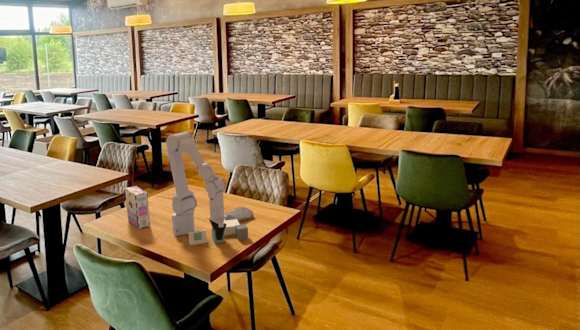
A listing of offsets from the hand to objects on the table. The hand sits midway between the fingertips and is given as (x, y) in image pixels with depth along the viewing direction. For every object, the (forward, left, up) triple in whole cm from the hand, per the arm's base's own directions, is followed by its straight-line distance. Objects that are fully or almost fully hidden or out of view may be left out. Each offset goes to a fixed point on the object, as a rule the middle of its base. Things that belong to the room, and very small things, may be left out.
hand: (218, 237), depth 197 cm
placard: (-9, +1, -1) cm, 9 cm away
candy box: (-30, +32, -2) cm, 44 cm away
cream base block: (+7, +8, -2) cm, 11 cm away
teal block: (0, 0, -2) cm, 2 cm away
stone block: (+15, +21, -2) cm, 26 cm away
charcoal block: (+10, 0, -2) cm, 10 cm away
